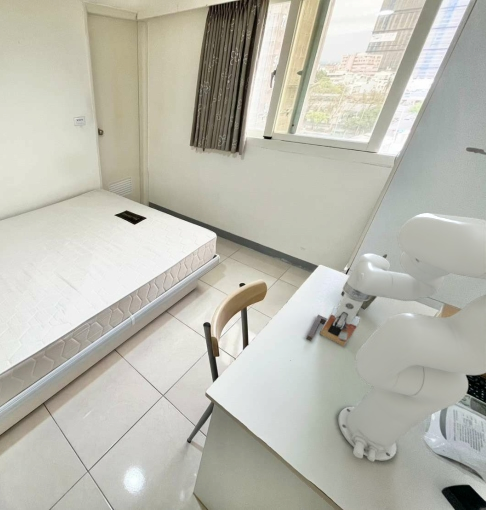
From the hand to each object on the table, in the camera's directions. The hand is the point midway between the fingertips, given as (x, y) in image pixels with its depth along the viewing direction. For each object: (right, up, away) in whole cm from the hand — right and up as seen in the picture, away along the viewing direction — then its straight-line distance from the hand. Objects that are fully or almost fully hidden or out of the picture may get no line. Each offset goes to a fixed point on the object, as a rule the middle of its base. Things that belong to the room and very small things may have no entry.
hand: (335, 326), depth 97 cm
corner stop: (-2, -4, +2) cm, 5 cm away
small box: (0, -4, +2) cm, 5 cm away
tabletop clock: (+18, +5, +15) cm, 24 cm away
